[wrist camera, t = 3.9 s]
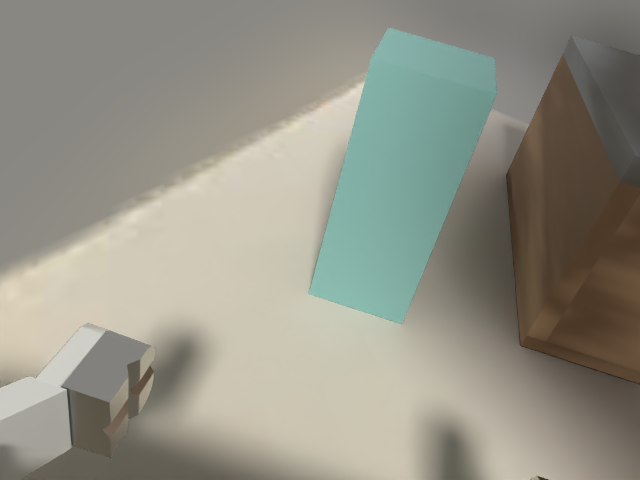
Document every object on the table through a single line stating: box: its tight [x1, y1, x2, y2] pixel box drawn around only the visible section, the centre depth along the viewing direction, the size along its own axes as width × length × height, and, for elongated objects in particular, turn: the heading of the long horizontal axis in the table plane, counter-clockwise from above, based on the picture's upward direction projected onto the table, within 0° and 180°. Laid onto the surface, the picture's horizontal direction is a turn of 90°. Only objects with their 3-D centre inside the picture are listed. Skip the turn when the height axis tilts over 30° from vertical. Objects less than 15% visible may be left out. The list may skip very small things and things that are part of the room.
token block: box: [309, 28, 497, 324], centre depth 22 cm, size 4×4×10 cm
